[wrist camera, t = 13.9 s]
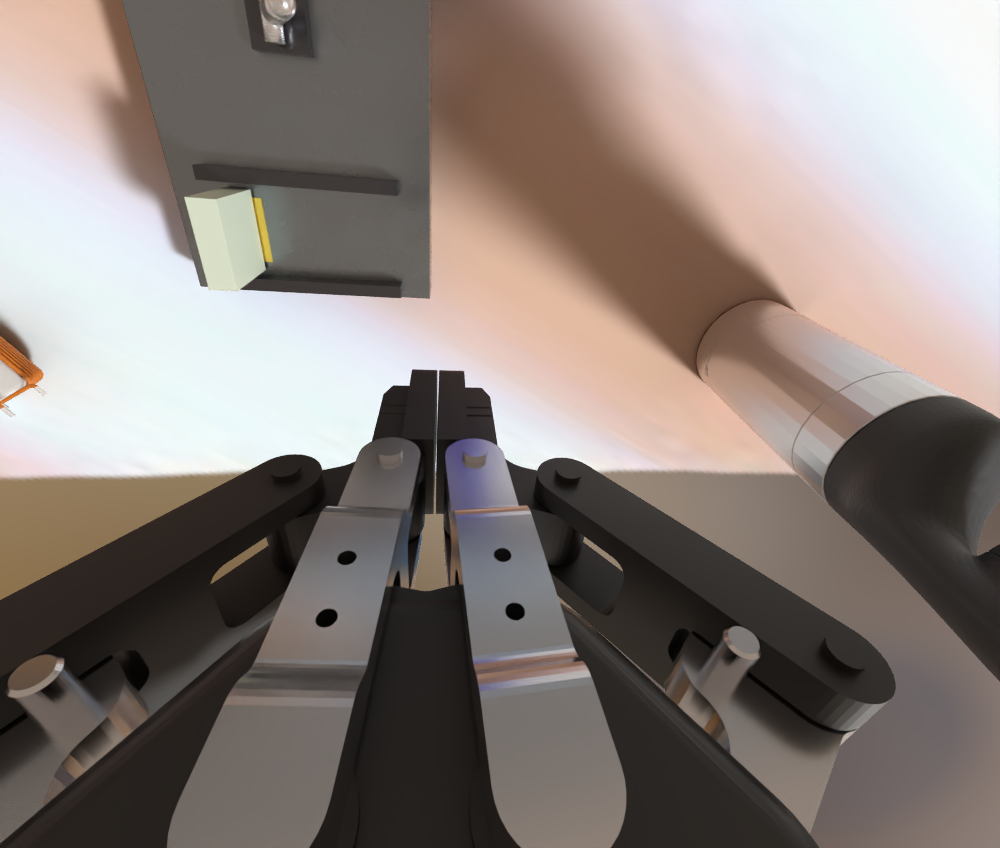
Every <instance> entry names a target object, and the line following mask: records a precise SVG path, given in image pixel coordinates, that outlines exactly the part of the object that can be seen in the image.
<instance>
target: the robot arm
mask: <svg viewBox="0 0 1000 848" xmlns="http://www.w3.org/2000/svg"><path fill="white" fill-rule="evenodd" d="M697 369H698V373H699V375H700V377H701V378H702V380H703V381H704V382H705V383H706V384H707V385H708V386H709V387H710V388H711V389H712V390H713V391H714V392H715V393H716V394H717V395H718V396H719V397H720V398H721V399H722V400H723V401H724V402H725V403H726V404H727V405H728V406H729V407H730V408H731V409H732V410H733V411H734V412H735V413H736V414H737V415H738V416H739V417H740V418H741V419H742V420H743V421H744V422H745V423H746V424H747V425H748V426H749V427H750V428H751V429H752V430H753V431H754V432H755V433H756V434H757V435H758V436H759V437H760V438H761V439H762V440H763V441H764V442H765V443H766V444H767V445H768V446H769V447H770V448H771V449H772V450H773V451H774V452H775V453H776V454H777V455H778V456H779V457H780V458H782V459H783V460H784V461H785V462H786V463H787V464H788V465H789V466H790V467H791V468H792V469H793V470H794V471H795V472H796V473H797V474H798V475H799V476H800V477H801V478H802V479H803V480H804V481H805V482H806V483H807V484H808V485H809V486H810V487H811V488H812V489H813V490H814V491H815V492H816V493H817V494H818V495H820V497H822V498H823V500H825V502H826V503H828V504H829V505H830V506H831V507H832V508H833V509H834V510H835V511H836V512H837V513H838V514H839V515H840V516H841V517H842V518H843V519H845V521H847V522H848V523H849V524H850V525H851V526H852V527H853V528H854V529H855V530H856V531H857V532H858V533H859V534H860V535H862V536H863V537H864V538H865V539H866V540H867V541H868V542H869V543H870V544H871V545H872V546H873V547H874V548H875V549H876V550H877V551H878V552H879V553H880V554H881V555H882V556H883V557H884V558H885V559H886V560H887V561H888V562H889V563H890V564H891V565H892V566H893V567H894V568H895V569H896V570H897V571H898V572H899V573H900V574H901V575H902V576H903V577H904V578H905V579H906V580H907V581H908V582H909V583H910V585H911V586H912V587H913V588H914V589H915V590H916V591H917V592H918V593H919V594H920V595H921V596H922V597H923V598H924V600H925V601H926V602H927V603H928V604H929V605H930V606H931V607H932V608H933V609H934V610H935V611H936V613H937V614H938V615H939V616H940V617H941V618H942V619H943V620H944V621H945V622H946V623H947V625H948V626H949V627H950V628H951V629H952V630H953V631H954V632H955V633H956V634H957V636H958V637H959V638H960V639H961V640H962V641H963V642H964V643H965V644H966V645H967V647H968V648H969V649H970V650H971V651H972V652H973V653H974V654H975V655H976V656H977V658H978V659H979V660H980V661H981V662H982V663H983V664H984V665H985V666H986V667H987V669H988V670H989V671H990V672H991V673H992V674H993V675H994V676H995V677H996V678H997V679H998V680H999V681H1000V545H998V546H996V547H994V548H992V549H991V550H989V552H986V553H984V554H982V555H979V556H977V545H978V540H979V537H980V533H981V531H982V528H983V526H984V523H985V522H986V520H987V518H988V516H989V515H990V513H991V512H992V510H993V508H994V507H995V506H996V504H997V503H998V502H999V500H1000V419H999V418H998V417H996V416H994V415H993V414H991V413H989V412H987V411H985V410H983V409H981V408H979V407H977V406H975V405H973V404H972V403H970V402H968V401H966V400H963V399H961V398H959V397H958V396H956V395H954V394H952V393H950V392H948V391H946V390H944V389H942V388H940V387H938V386H936V385H935V384H933V383H931V382H929V381H927V380H925V379H923V378H921V377H919V376H917V375H915V374H913V373H911V372H909V371H907V370H905V369H903V368H901V367H900V366H898V365H896V364H894V363H892V362H890V361H888V360H886V359H884V358H882V357H881V356H879V355H877V354H875V353H873V352H871V351H869V350H867V349H865V348H863V347H861V346H860V345H858V344H856V343H854V342H852V341H850V340H848V339H846V338H844V337H842V336H840V335H839V334H837V333H835V332H833V331H831V330H829V329H827V328H825V327H823V326H821V325H820V324H818V323H816V322H814V321H812V320H810V319H809V318H807V317H805V316H803V315H801V314H799V313H797V312H795V311H793V310H791V309H789V308H788V307H786V306H784V305H782V304H780V303H777V302H774V301H771V300H754V301H748V302H746V303H743V304H740V305H738V306H736V307H734V308H732V309H730V310H728V311H727V312H726V313H724V314H723V315H722V316H720V317H719V318H718V319H717V320H716V321H715V322H714V323H713V324H712V325H711V326H710V328H709V329H708V331H707V332H706V333H705V335H704V336H703V339H702V341H701V343H700V345H699V348H698V352H697ZM436 438H437V464H436V514H444V528H443V543H444V554H445V566H446V578H447V587H445V588H441V589H437V590H433V591H419V590H414V584H415V578H416V572H417V566H418V560H419V554H420V548H421V541H422V529H423V527H424V520H425V514H433V509H434V487H435V485H434V484H435V462H436ZM584 536H585V537H586V538H587V539H589V540H590V541H592V542H593V543H594V544H596V545H597V546H598V547H600V548H601V549H602V550H604V551H605V552H606V553H608V554H609V555H610V556H612V557H613V558H614V559H616V560H617V562H618V563H619V564H620V566H621V567H622V569H623V572H622V571H621V570H619V569H618V568H617V567H616V566H614V565H613V564H612V563H610V562H609V561H608V560H606V559H605V558H604V557H602V556H601V555H600V554H598V553H597V552H596V551H594V550H593V549H592V548H590V547H589V546H588V545H586V544H585V543H584V542H583V539H584ZM265 537H266V538H267V542H268V546H267V547H266V548H264V549H263V550H261V551H260V552H258V553H257V554H255V555H254V556H252V557H251V558H250V559H248V560H246V561H245V562H244V563H242V564H241V565H239V566H238V567H236V568H235V569H233V570H232V571H230V572H229V573H227V574H226V575H224V576H223V577H221V578H220V579H218V580H217V581H215V582H214V583H212V584H211V585H210V583H211V580H212V578H213V576H214V574H215V573H216V572H217V571H218V570H219V568H220V567H222V566H223V565H224V564H226V563H227V562H228V561H230V560H232V559H233V558H235V557H236V556H238V555H239V554H241V553H242V552H244V551H245V550H247V549H248V548H250V547H251V546H253V545H255V544H256V543H258V542H259V541H261V540H262V539H264V538H265ZM557 595H558V596H559V597H560V598H561V599H562V600H563V601H564V602H566V603H567V604H568V605H570V607H571V608H572V609H574V610H575V611H576V612H577V613H578V614H580V615H581V616H582V617H581V616H580V615H578V614H577V613H576V612H574V611H573V610H571V609H570V608H568V607H566V606H564V605H563V604H561V603H560V602H559V599H558V596H557ZM588 622H589V623H590V624H591V625H590V624H589V623H588ZM596 629H597V630H598V631H599V632H600V633H601V634H602V635H603V636H605V637H606V638H607V639H608V640H609V641H610V642H612V643H613V644H614V645H615V646H616V647H617V648H618V649H620V650H621V651H622V652H623V653H624V654H625V655H627V656H628V657H629V658H630V659H631V660H632V661H633V662H634V663H636V664H637V665H638V666H639V667H640V668H641V669H642V670H644V671H645V672H646V673H647V674H648V675H649V676H651V677H652V678H653V679H654V680H655V681H656V682H657V683H659V684H660V685H661V686H662V687H663V688H664V689H665V693H664V692H663V691H661V689H660V688H658V687H657V686H656V685H655V684H654V683H653V682H652V681H651V680H650V679H649V678H648V677H647V676H646V675H644V674H643V673H642V672H641V671H640V670H639V669H638V668H637V667H636V666H635V665H634V664H632V663H631V662H630V661H629V660H628V659H627V658H626V657H625V656H624V655H623V654H622V653H621V652H620V651H619V650H617V649H616V648H615V647H614V646H613V645H612V644H611V643H610V642H609V641H608V640H606V638H605V637H603V636H602V635H601V634H600V633H599V632H598V631H597V630H596ZM895 688H896V687H895V679H894V675H893V673H892V671H891V669H890V667H889V665H888V663H887V662H886V661H885V659H884V658H883V656H882V655H881V654H880V653H879V652H878V651H877V649H876V648H875V647H874V646H872V644H870V643H869V642H868V641H867V640H866V639H865V638H863V637H862V636H861V635H860V634H858V633H856V632H855V631H854V630H852V629H850V628H849V627H847V626H845V625H844V624H842V623H841V622H839V621H838V620H836V619H834V618H833V617H831V616H830V615H828V614H826V613H825V612H823V611H821V610H820V609H818V608H817V607H815V606H813V605H812V604H810V603H809V602H807V601H805V600H804V599H802V598H800V597H799V596H797V595H796V594H794V593H792V592H791V591H789V590H788V589H786V588H784V587H783V586H781V585H779V584H778V583H776V582H774V581H773V580H771V579H770V578H768V577H766V576H765V575H763V574H762V573H760V572H758V571H757V570H755V569H754V568H752V567H750V566H749V565H747V564H746V563H744V562H742V561H741V560H739V559H737V558H736V557H734V556H733V555H731V554H729V553H728V552H726V551H725V550H723V549H721V548H720V547H718V546H716V545H715V544H713V543H712V542H710V541H708V540H707V539H705V538H704V537H702V536H700V535H699V534H697V533H695V532H694V531H692V530H690V529H689V528H687V527H686V526H684V525H682V524H681V523H679V522H678V521H676V520H674V519H673V518H671V517H670V516H668V515H666V514H665V513H663V512H662V511H660V510H658V509H657V508H655V507H654V506H652V505H650V504H649V503H647V502H645V501H644V500H642V499H641V498H639V497H637V496H636V495H634V494H633V493H631V492H629V491H628V490H626V489H624V488H622V487H621V486H619V485H618V484H616V483H615V482H613V481H612V480H610V479H608V478H607V477H605V476H603V475H602V474H600V473H599V472H597V471H595V470H594V469H592V468H591V467H589V466H587V465H586V464H584V463H582V462H580V461H577V460H574V459H569V458H553V459H549V460H547V461H545V462H543V463H542V464H541V465H540V466H539V468H538V471H536V470H532V469H527V468H523V467H520V466H517V465H514V464H513V463H511V462H509V461H508V460H506V459H505V457H504V454H503V451H502V450H501V449H500V448H499V447H498V446H497V439H496V433H495V426H494V420H493V413H492V407H491V400H490V396H489V395H488V394H487V393H486V392H485V391H484V390H483V389H482V388H465V378H464V371H444V370H439V395H438V420H437V370H412V374H411V380H410V386H392V387H391V388H390V389H389V390H388V391H387V392H386V393H385V394H384V395H383V399H382V403H381V407H380V411H379V415H378V419H377V423H376V427H375V431H374V435H373V439H372V442H370V443H368V444H367V445H365V446H364V447H363V448H362V449H361V451H360V452H359V455H358V457H357V459H356V461H355V462H353V463H351V464H348V465H345V466H341V467H337V468H332V469H327V470H322V468H321V465H320V463H319V462H318V461H317V460H315V459H314V458H312V457H309V456H306V455H296V454H294V455H284V456H280V457H276V458H273V459H271V460H268V461H266V462H264V463H262V464H260V465H258V466H257V467H255V468H253V469H251V470H249V471H247V472H245V473H243V474H241V475H239V476H237V477H235V478H234V479H232V480H230V481H228V482H226V483H224V484H222V485H220V486H218V487H216V488H214V489H212V490H211V491H209V492H207V493H205V494H203V495H201V496H199V497H197V498H195V499H193V500H191V501H189V502H188V503H186V504H184V505H182V506H180V507H178V508H176V509H174V510H172V511H170V512H168V513H166V514H165V515H163V516H161V517H159V518H157V519H155V520H153V521H151V522H149V523H147V524H146V525H143V526H141V527H140V528H138V529H136V530H134V531H132V532H130V533H128V534H126V535H124V536H122V537H120V538H118V539H117V540H115V541H113V542H111V543H109V544H107V545H105V546H103V547H101V548H99V549H97V550H95V551H94V552H92V553H90V554H88V555H86V556H84V557H82V558H80V559H78V560H76V561H74V562H72V563H71V564H69V565H67V566H65V567H63V568H61V569H59V570H58V571H55V572H54V573H51V574H50V575H48V576H46V577H44V578H42V579H40V580H38V581H36V582H34V583H32V584H30V585H28V586H27V587H25V588H23V589H21V590H19V591H17V592H15V593H13V594H11V595H9V596H7V597H5V598H4V599H2V600H0V848H819V846H818V845H817V844H816V842H815V841H814V839H813V838H812V837H811V835H810V832H811V829H812V826H813V823H814V820H815V817H816V814H817V812H818V809H819V805H820V803H821V799H822V797H823V793H824V791H825V787H826V785H827V782H828V779H829V776H830V773H831V770H832V767H833V764H834V761H835V758H836V755H837V752H838V749H839V746H840V745H841V744H842V743H843V742H844V741H845V740H846V739H847V738H848V737H850V736H851V735H852V734H853V733H854V732H855V731H856V730H857V729H858V728H859V727H860V726H861V725H863V724H864V723H865V722H866V721H867V720H868V719H869V718H870V717H871V716H872V715H874V714H875V713H876V712H877V711H878V710H879V709H880V708H881V707H882V706H884V705H885V704H886V703H887V702H888V701H889V700H890V699H891V698H892V697H893V695H894V693H895Z"/></svg>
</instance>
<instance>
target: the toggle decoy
mask: <svg viewBox="0 0 1000 848" xmlns="http://www.w3.org/2000/svg"><path fill="white" fill-rule="evenodd" d="M259 7H260V13H261V20H262V26H263V33H264V39H265V42H267V43H272V44H278V45H286V43H285V36H284V28H283V24H284V23H285V22H287V21H288V20H289V19H291V18H292V17H293V16H294V15H295V12H296V1H295V0H259Z"/></svg>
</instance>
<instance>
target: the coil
mask: <svg viewBox="0 0 1000 848" xmlns="http://www.w3.org/2000/svg"><path fill="white" fill-rule="evenodd" d="M42 378H43V372H42V371H41V370H40V369H39V368H38V367H37V366H36V365H34V364H33V363H32V362H31V361H30V360H28V359H27V358H26V357H25V356H24V355H23V354H21V353H20V352H19V351H18V350H17V349H15V348H14V347H13V346H12V345H11V344H9V343H8V342H7V341H6V340H5V339H3V338H2V337H1V336H0V409H1V410H2V411H4V412H5V413H6V414H8V415H9V416H10V417H12V416H14V415H15V414H14V413H13V412H11V411H10V410H9V407H7V406H6V405H5V404H3V403H5V402H7V401H8V400H10V399H12V398H14V397H15V396H17V395H19V394H20V393H22V392H24V391H26V390H27V389H29V388H34V389H36V390H37V391H38V392H39V393H41V394H42V395H43V396H44V395H46V394H47V393H46V392H45V391H43V390H42V389H41V388H40V387H38V386H37V385H35V384H36V383H37V382H39V381H40V380H41V379H42Z"/></svg>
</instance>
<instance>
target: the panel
mask: <svg viewBox="0 0 1000 848" xmlns="http://www.w3.org/2000/svg"><path fill="white" fill-rule="evenodd" d="M295 1H296V12H295V15H294V16H293V17H292V18H291V19H289V20H288V21H287V22H285V23H284V24H283V28H284V36H285V43H286V45H278V44H272V43H267V42H265V39H264V33H263V26H262V20H261V13H260V7H259V0H122V3H123V7H124V10H125V14H126V18H127V21H128V25H129V28H130V32H131V36H132V39H133V43H134V47H135V50H136V54H137V57H138V61H139V65H140V68H141V72H142V75H143V79H144V83H145V86H146V90H147V94H148V97H149V101H150V104H151V108H152V112H153V115H154V119H155V123H156V126H157V130H158V133H159V137H160V141H161V144H162V148H163V151H164V155H165V159H166V162H167V166H168V170H169V173H170V177H171V180H172V184H173V188H174V191H175V195H176V198H177V202H178V206H179V209H180V213H181V217H182V220H183V224H184V227H185V231H186V235H187V238H188V242H189V246H190V249H191V253H192V256H193V260H194V264H195V267H196V271H197V274H198V278H199V282H200V285H201V286H204V287H208V284H207V280H206V277H205V273H204V269H203V265H202V262H201V258H200V254H199V250H198V247H197V243H196V239H195V235H194V232H193V228H192V224H191V220H190V217H189V213H188V209H187V206H186V202H185V198H184V197H186V196H190V195H194V194H198V193H202V192H206V191H210V190H214V189H218V188H222V187H227V188H239V189H250V191H251V196H252V201H253V207H254V212H255V217H256V222H257V227H258V232H259V237H260V243H261V248H262V253H263V258H264V263H265V268H266V270H265V271H264V272H262V273H261V274H260V275H258V276H257V277H256V278H254V279H253V280H252V281H250V282H249V283H248V284H246V285H245V286H244V287H243V288H241V289H240V290H257V291H276V292H295V293H314V294H333V295H352V296H371V297H390V298H401V297H411V298H429V299H430V292H431V0H295Z"/></svg>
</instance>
